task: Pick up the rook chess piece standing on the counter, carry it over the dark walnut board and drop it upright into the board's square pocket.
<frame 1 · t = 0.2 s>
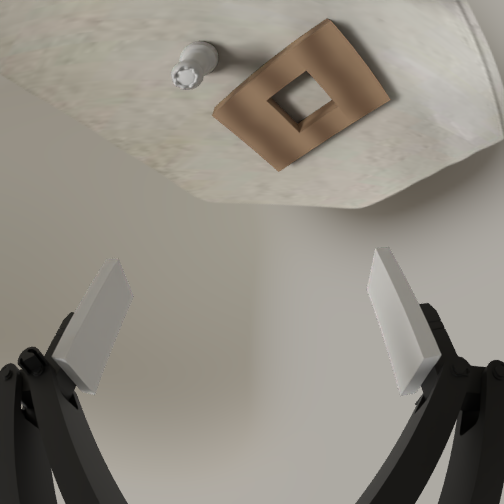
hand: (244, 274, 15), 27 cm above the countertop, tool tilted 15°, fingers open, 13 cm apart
rook chess piece: (200, 56, 29), on the countertop
walnut socket board: (300, 95, 33), on the countertop
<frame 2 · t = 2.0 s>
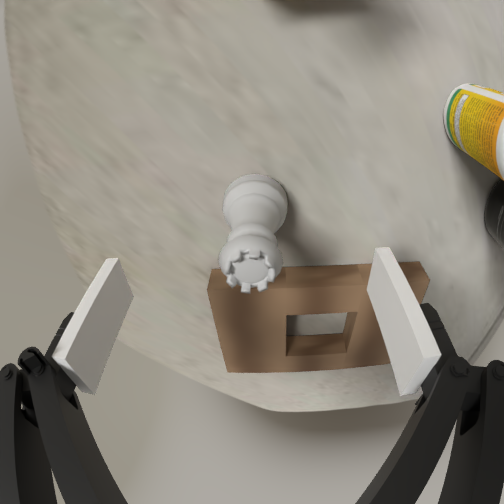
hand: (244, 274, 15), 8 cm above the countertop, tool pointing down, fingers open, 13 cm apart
supplement bottle 2: (466, 116, 16), on the countertop
rook chess piece: (255, 199, 21), on the countertop
walnut socket board: (316, 315, 27), on the countertop
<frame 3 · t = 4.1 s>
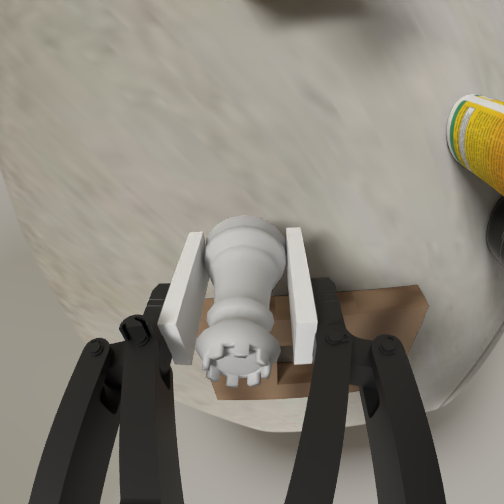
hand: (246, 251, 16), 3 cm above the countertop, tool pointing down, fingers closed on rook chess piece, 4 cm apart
supplement bottle 2: (470, 130, 15), on the countertop
rook chess piece: (246, 244, 17), point 3 cm above the countertop, touching gripper
walnut socket board: (309, 342, 26), on the countertop
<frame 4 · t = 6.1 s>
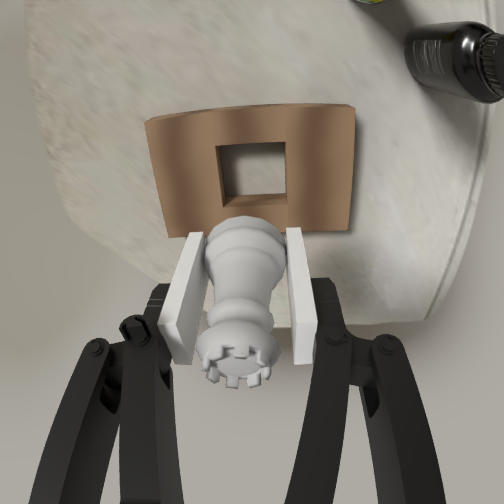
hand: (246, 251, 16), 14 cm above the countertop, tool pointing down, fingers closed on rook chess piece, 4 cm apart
supplement bottle: (430, 57, 20), on the countertop
rook chess piece: (246, 244, 17), point 13 cm above the countertop, touching gripper
walnut socket board: (253, 166, 28), on the countertop
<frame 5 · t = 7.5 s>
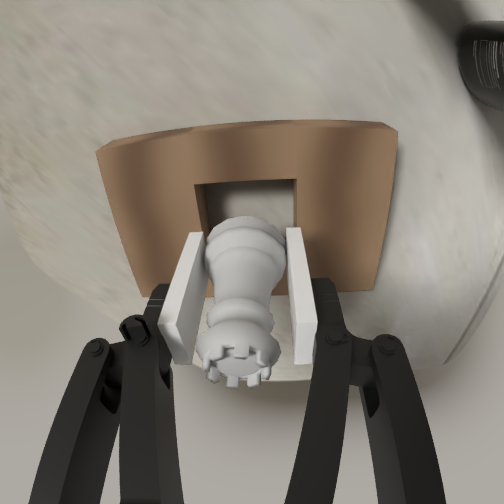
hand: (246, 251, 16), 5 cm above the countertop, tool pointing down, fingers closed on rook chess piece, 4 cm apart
supplement bottle: (486, 62, 13), on the countertop
rook chess piece: (246, 245, 17), point 5 cm above the countertop, touching gripper
walnut socket board: (250, 207, 21), on the countertop
when the fingers open (4 cm above the countertop, at t = 8.4 s): rook chess piece drops 4 cm, resting in walnut socket board.
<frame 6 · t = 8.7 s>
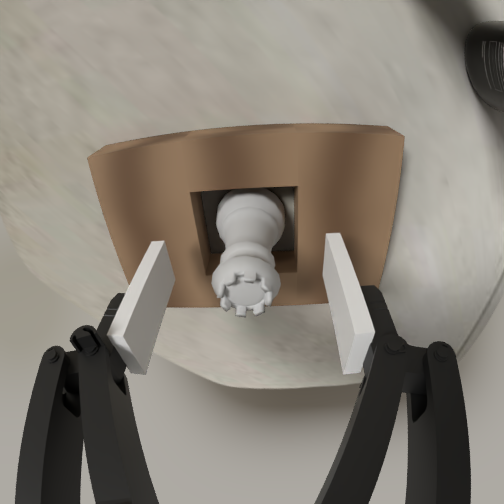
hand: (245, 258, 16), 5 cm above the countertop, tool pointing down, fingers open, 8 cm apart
supplement bottle: (493, 64, 12), on the countertop
rook chess piece: (251, 211, 20), resting in walnut socket board
walnut socket board: (249, 215, 20), on the countertop
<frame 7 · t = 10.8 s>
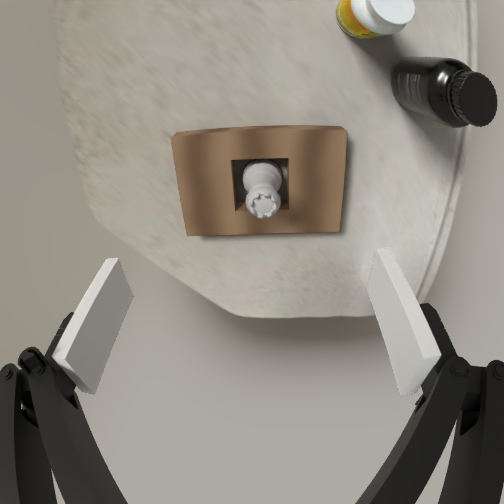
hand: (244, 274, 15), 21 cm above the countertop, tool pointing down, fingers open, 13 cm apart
supplement bottle 2: (357, 17, 22), on the countertop
supplement bottle: (414, 84, 26), on the countertop
rook chess piece: (262, 175, 34), resting in walnut socket board
walnut socket board: (260, 177, 33), on the countertop
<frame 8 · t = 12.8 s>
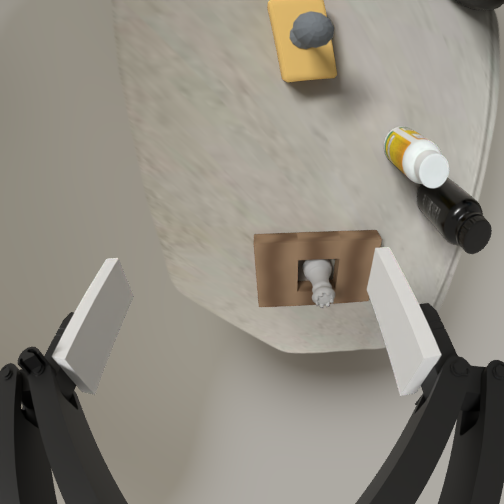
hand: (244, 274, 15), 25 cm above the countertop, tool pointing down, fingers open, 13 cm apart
supplement bottle 2: (399, 144, 34), on the countertop
supplement bottle: (434, 193, 37), on the countertop
rook chess piece: (316, 263, 45), resting in walnut socket board
rubber stamp: (299, 40, 27), on the countertop
walnut socket board: (315, 265, 45), on the countertop
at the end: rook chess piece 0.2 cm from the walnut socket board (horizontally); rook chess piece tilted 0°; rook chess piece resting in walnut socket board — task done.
